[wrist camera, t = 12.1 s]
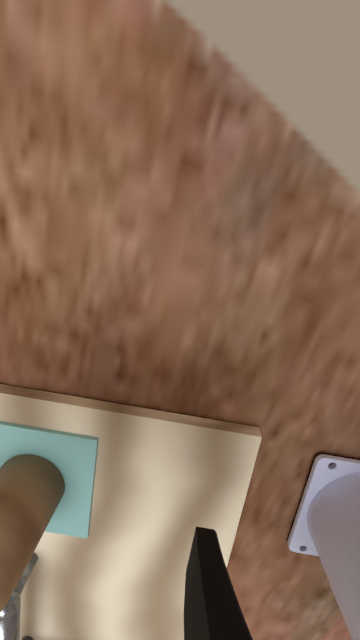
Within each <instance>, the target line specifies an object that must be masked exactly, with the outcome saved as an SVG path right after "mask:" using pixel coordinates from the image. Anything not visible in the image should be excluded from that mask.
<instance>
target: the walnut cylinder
mask: <svg viewBox="0 0 360 640" xmlns="http://www.w3.org/2000/svg"><path fill="white" fill-rule="evenodd" d="M64 491H65V483H64V479H63V476H62V474H61V473H60V471H59V470H58V469H57V468H56V467H55V466H54V465H53V464H52V463H51V462H49V461H48V460H46V459H44V458H42V457H39V456H35V455H29V454H23V455H17V456H14V457H12V458H10V459H8V460H7V461H6V462H5V463H4V464H3V465H2V466H1V468H0V611H2V610H3V609H4V608H5V606H6V605H7V603H8V601H9V599H10V597H11V595H12V593H13V591H14V590H15V588H16V586H17V584H18V582H19V580H20V578H21V576H22V574H23V572H24V570H25V568H26V566H27V564H28V562H29V560H30V559H31V557H32V555H33V553H34V551H35V549H36V547H37V545H38V543H39V541H40V539H41V537H42V535H43V533H44V531H45V529H46V528H47V526H48V524H49V522H50V520H51V518H52V516H53V514H54V512H55V510H56V508H57V506H58V504H59V502H60V500H61V499H62V497H63V495H64Z"/></svg>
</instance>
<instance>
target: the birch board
mask: <svg viewBox="0 0 360 640" xmlns="http://www.w3.org/2000/svg"><path fill="white" fill-rule="evenodd" d="M0 421H3V422H9V423H15V424H21V425H27V426H33V427H39V428H45V429H51V430H57V431H62V432H68V433H74V434H80V435H86V436H92V437H98V438H99V440H98V449H97V459H96V469H95V478H94V488H93V498H92V507H91V517H90V527H89V535H88V538H81V537H75V536H69V535H63V534H57V533H51V532H45V531H44V533H43V535H42V537H41V539H40V541H39V543H38V545H37V547H36V549H35V551H34V553H36V554H37V555H38V560H37V562H36V564H35V566H34V568H33V570H32V572H31V574H30V576H29V578H28V580H27V582H26V584H25V586H24V588H23V591H22V593H21V595H20V598H21V606H20V640H22V638H23V637H24V636H30V637H32V638H33V639H34V640H184V596H185V579H186V569H187V565H188V560H189V556H190V551H191V547H192V542H193V538H194V533H195V529H196V526H197V527H203V528H208V529H214V530H215V531H216V533H217V537H218V541H219V544H220V548H221V552H222V555H223V558H224V562H225V565H226V568H227V565H228V561H229V557H230V553H231V550H232V546H233V542H234V539H235V535H236V531H237V528H238V524H239V520H240V516H241V513H242V509H243V505H244V502H245V498H246V494H247V490H248V487H249V483H250V479H251V476H252V472H253V468H254V465H255V461H256V457H257V453H258V450H259V446H260V442H261V439H262V436H261V433H260V430H259V427H254V426H248V425H242V424H236V423H231V422H225V421H219V420H213V419H207V418H201V417H195V416H189V415H183V414H177V413H171V412H165V411H159V410H153V409H147V408H141V407H136V406H130V405H124V404H118V403H112V402H106V401H100V400H94V399H88V398H82V397H76V396H70V395H64V394H58V393H52V392H46V391H41V390H35V389H29V388H23V387H17V386H11V385H5V384H0Z"/></svg>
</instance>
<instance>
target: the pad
mask: <svg viewBox="0 0 360 640" xmlns="http://www.w3.org/2000/svg"><path fill="white" fill-rule="evenodd" d="M98 440H99V438H98V437H92V436H86V435H80V434H74V433H68V432H62V431H57V430H51V429H45V428H39V427H33V426H27V425H21V424H15V423H9V422H3V421H0V468H1V466H2V465H3V464H4V463H5V462H6V461H7V460H8V459H10V458H12V457H14V456H17V455H23V454H29V455H35V456H39V457H42V458H44V459H46V460H48V461H49V462H51V463H52V464H53V465H54V466H55V467H56V468H57V469H58V470H59V471H60V473H61V474H62V476H63V479H64V483H65V491H64V495H63V497H62V499H61V500H60V502H59V504H58V506H57V508H56V510H55V512H54V514H53V516H52V518H51V520H50V522H49V524H48V526H47V528H46V529H45V532H51V533H57V534H63V535H69V536H75V537H81V538H88V535H89V527H90V517H91V507H92V498H93V488H94V478H95V469H96V459H97V449H98Z"/></svg>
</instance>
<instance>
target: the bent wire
mask: <svg viewBox="0 0 360 640" xmlns="http://www.w3.org/2000/svg"><path fill="white" fill-rule="evenodd" d="M37 560H38V555H37V554H36V553H33V555H32V557H31V559H30V560H29V562H28V564H27V566H26V568H25V570H24V572H23V574H22V576H21V578H20V580H19V582H18V584H17V586H16V588H15V590H14V591H13V593H12V595H11V597H10V599H9V601H8V603H7V605H6V606H5V608H4V609H3V610H2V611H0V640H20V606H21V598H20V595H21V593H22V591H23V588H24V586H25V584H26V582H27V580H28V578H29V576H30V574H31V572H32V570H33V568H34V566H35V564H36V562H37ZM22 640H34V639H33V638H32V637H30V636H24V637H23V638H22Z"/></svg>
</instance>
